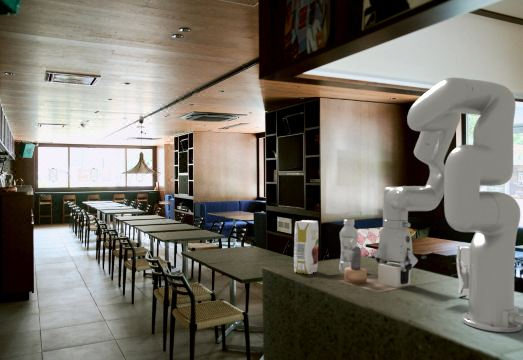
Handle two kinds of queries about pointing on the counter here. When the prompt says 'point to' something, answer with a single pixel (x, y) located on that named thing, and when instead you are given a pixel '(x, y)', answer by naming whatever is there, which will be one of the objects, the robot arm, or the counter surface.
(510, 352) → the counter surface
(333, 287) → the counter surface
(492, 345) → the counter surface
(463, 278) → the beer glass
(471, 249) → the robot arm
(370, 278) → the post board
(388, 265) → the hollow square frame
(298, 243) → the juice carton
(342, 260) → the plastic bottle
